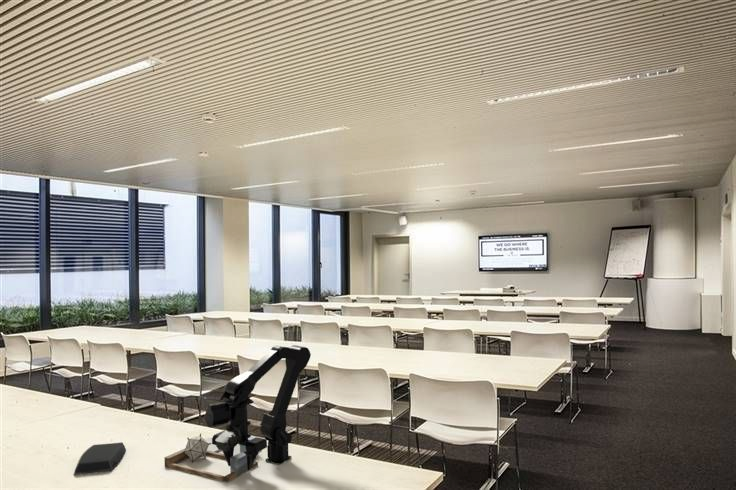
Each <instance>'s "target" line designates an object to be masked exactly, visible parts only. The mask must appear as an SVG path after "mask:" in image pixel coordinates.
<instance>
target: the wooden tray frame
mask: <svg viewBox="0 0 736 490" xmlns="http://www.w3.org/2000/svg"><path fill="white" fill-rule="evenodd" d="M183 451H185V448H184V449H180V450H179V451H176V452H174V453H173V452H172V454H169V455H167V456H165V457H164V467H166V468H169V469H173V470H177V471H181V472H185V473H189V474H193V475H197V476H201V477H204V478H207V479H208V478H209V479H213V480H216V481H220V482H224V483H229V482H231V481H232V480H235V479H236V478H239V477H240V476H241V475H243V474H245V473H247V472H249V471H248V468H247V455H246V454H245V453H242V452H241V453H239V454H237V455H235V456H233V457H231V458H230V466H229V468H230V473H228V474H226V475H222V474H217V473H213V472H209V471H207V470H201V469H198V468H194V467H189V466H186V465H182V464H180V463H181V462H184V461H186V460H189V459H191V458H190V457H189V456H188V455H187V454H186V453H185V452H184V453H182V452H183ZM220 453H221V452H220ZM220 453H219V452H217V453H216V452H211V451H206V454H205V456H207V457H212V458H216V459H221V460H225V461H226V458H225V456H224V454H220ZM258 465H259V461H256V460H255V462H254V464H253V466H252V469H251V470H253V469H255V468H256V467H258Z"/></svg>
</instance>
